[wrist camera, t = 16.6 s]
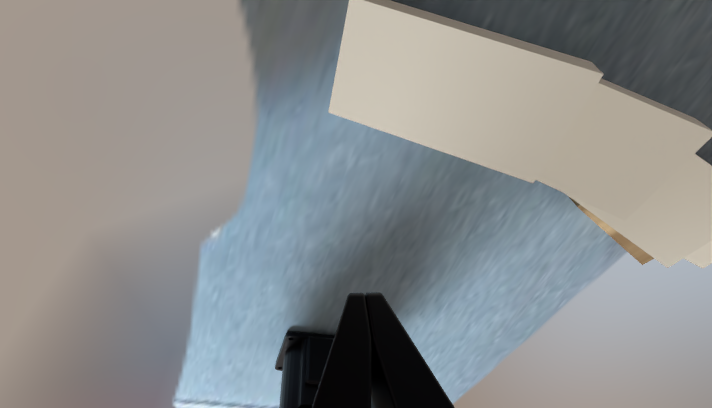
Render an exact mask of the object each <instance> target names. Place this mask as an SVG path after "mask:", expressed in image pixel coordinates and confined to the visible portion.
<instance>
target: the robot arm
mask: <svg viewBox="0 0 712 408" xmlns="http://www.w3.org/2000/svg"><path fill="white" fill-rule="evenodd" d="M275 369H276V370H281V371H283V372H282V384H281V395H280V407H279V408H454V406H453V404H452V403H451V401H450V400H449V398H448V397H447V395H446V393H445V392H444V390H443V389H442V387H441V386H440V384H439V382H438V381H437V379H436V378H435V376H434V375H433V373H432V371H431V370H430V368H429V367H428V365H427V364H426V362H425V360H424V359H423V357H422V356H421V354H420V353H419V351H418V349H417V348H416V346H415V345H414V343H413V342H412V340H411V338H410V337H409V335H408V334H407V332H406V331H405V329H404V327H403V326H402V324H401V323H400V321H399V320H398V318H397V316H396V315H395V313H394V312H393V310H392V309H391V307H390V305H389V304H388V302H387V301H386V299H385V298H384V296H383V295H382V294H381V293H366V294H363V293H350V294H349V295H348V297H347V300H346V303H345V306H344V309H343V313H342V316H341V319H340V322H339V325H338V328H337V331H336V334H335V336H327V335H318V334H308V333H298V332H288V333H286V335H285V338H284V341H283V344H282V347H281V350H280V353H279V355H278V358H277V361H276V365H275Z"/></svg>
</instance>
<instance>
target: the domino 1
mask: <svg viewBox="0 0 712 408" xmlns="http://www.w3.org/2000/svg"><path fill="white" fill-rule="evenodd" d="M603 75H604V74H603V73H602V72H601V71H600V70H599V69H598V68H597V67H596V66H595V65H594V64H593V63H592V62H591V61H587V60H584V59H581V58H577V57H574V56H571V55H568V54H564V53H561V52H558V51H555V50H551V49H548V48H545V47H541V46H538V45H535V44H532V43H528V42H525V41H522V40H519V39H515V38H512V37H509V36H505V35H502V34H499V33H496V32H492V31H489V30H486V29H483V28H479V27H476V26H473V25H469V24H466V23H463V22H460V21H456V20H453V19H450V18H447V17H443V16H440V15H437V14H433V13H430V12H427V11H424V10H420V9H417V8H414V7H410V6H407V5H404V4H401V3H397V2H394V1H391V0H349V4H348V9H347V15H346V20H345V26H344V31H343V36H342V42H341V47H340V53H339V58H338V63H337V69H336V74H335V79H334V85H333V90H332V96H331V101H330V106H329V113H332V114H335V115H337V116H340V117H343V118H346V119H349V120H352V121H355V122H358V123H360V124H363V125H366V126H369V127H372V128H375V129H378V130H381V131H384V132H386V133H389V134H392V135H395V136H398V137H401V138H404V139H407V140H410V141H412V142H415V143H418V144H421V145H424V146H427V147H430V148H433V149H436V150H438V151H441V152H444V153H447V154H450V155H453V156H456V157H459V158H462V159H464V160H467V161H470V162H473V163H476V164H479V165H482V166H485V167H488V168H490V169H493V170H496V171H499V172H502V173H505V174H508V175H511V176H514V177H516V178H519V179H522V180H525V181H528V182H531V183H534V181H535V180H536V178H537V177H538V175H539V174H540V172H541V171H542V169H543V167H544V166H545V164H546V163H547V161H548V160H549V158H550V157H551V155H552V154H553V152H554V150H555V149H556V147H557V146H558V144H559V143H560V141H561V140H562V138H563V137H564V135H565V133H566V132H567V130H568V129H569V127H570V126H571V124H572V123H573V121H574V119H575V118H576V116H577V115H578V113H579V112H580V110H581V109H582V107H583V106H584V104H585V102H586V101H587V99H588V98H589V96H590V95H591V93H592V92H593V90H594V89H595V87H596V85H597V84H598V82H599V81H600V79H601V78H602V76H603Z"/></svg>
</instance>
